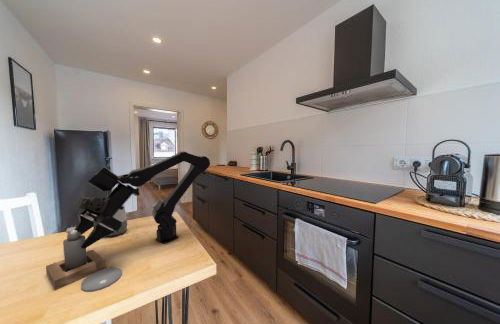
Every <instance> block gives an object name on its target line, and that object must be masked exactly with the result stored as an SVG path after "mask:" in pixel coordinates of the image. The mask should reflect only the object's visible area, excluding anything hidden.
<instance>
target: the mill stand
mask: <svg viewBox="0 0 500 324" xmlns="http://www.w3.org/2000/svg"><path fill="white" fill-rule="evenodd" d="M86 255H87V264H85V265H83V266H80V267H78V268H75V269H73V270H70V271H68V272H65V259H63V260H62V259H61V260H60V261H56V262H52V263H50V264H48V265H46V266H45V270H46V271H45V272H46V273H45V274H46V276H47V278H48V279H49V281H50V283H51V286H52V287H53V289H54V291H56V290H59V289H61V288H63V287H66V286H68V285H70V284H73V283H75V282H76V281H79V280H82V279H83V278H84V279H85V278H87V277H88V276H89V275H91V274H93V273H95V272H97V271H99V270H102V269H106V268H107V267H106V266H107V264H106V259H105V258H104V257H103V256H101V254H99V253H98V252H97V251H96V250H94V249H90V250H88V251H87V250H86Z"/></svg>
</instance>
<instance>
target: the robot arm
mask: <svg viewBox="0 0 500 324" xmlns="http://www.w3.org/2000/svg"><path fill="white" fill-rule="evenodd" d="M183 162H185V163H188V164H190V165H189V168H188V170H187V172H186V173H185V175H183V177H182V178H181V180H180V181H179V182H178V184H177V185H176V186H175V187H174V189H173V190H172V191H171V192H170V194H169V195H168V196H167V197H166V198H165V199H163V200H161V199H159V200H158V201H157V203H156V205H154V206H153V207H152V212H151V215H152V217H153V220H154V222H155V223H156V224H158V225H157V230H156V237H155V240H156V241H158V242H160V243H162V244H164V245H165V244H167V243H169V242H173V241H174V240H177V239H178V238H179V237H180V236H179V235H177V222H178V220H177V219H176V218H175V217H174V215H173V213H174V211H175V208H176V206H177V203H179V201H180V200H181V199H182V197H183V196H184V194H185V193H186V192H187V191H188V189H189V188H190V187H191V185H192V184H193V183H194V181H195V180H196V179H197V177H199V176H200V175H202V174H203V173H204V172H205V171H206V170H207V169H209V167H210V166H211V160H210V159H209V158H208V157H207V156H205V155H196V154H195V155H194V154H191V153H189V152H187V151H183V150H182V151H181V150H180V151H179V152H177V153H175V154H173V155H171V156H168V157H167V158H165V159H162V160H160V161H158V162H156V163H154V164H151V165H147V166H144V167H140V168H136V169H132V170H131V171H129V172H128V173H125V174H121V175H117V174H115V173H114V172H112V171H111V170H110V169H109V168H108V167H106V166H103V168H101V169H100V170H99V171H98V172H96V173H95V174H94V175H93V176H92V177H91V178H90V179H89V180H88V181H87V182H86V183H87V184H89V185H90V186H93V187H95V188H96V189H98V190H100V191H101V192H102V193H104V192H110V191H111V192H110V193H108V195H107V196H103V197H97V196H92V197H85V196H79V198H78V199H77V202H76V203H75V206H74V207H75V208H78V209H79V210H78V211H77V213H78V214H77V216H76V217H77V219H78V223H77V224H76V226H75V227H76V228H75V230H77V231H78V232H81V235H84V234H85V233H86V232H88V231H89V230H90V229H92V228H93V229H92V231H91V232H90V233H89V235H87V237H86V238H85V241H84V243H83V244H82V246H81V248H83V249H85V248H86V249H87V248H89V247H90V246H91V245H93V244H95V243H97V242H98V241H100V240H102V239H104V238H106V237H108V236H107V235H109V234H111V233H114V231H113V230H115V231H117V232H118V231H119V230H120V228H121V227H122V222H121V221H119V220H117V219H115V218H114V217H113V216H114V215H115V214H116V213H117V212H118V210H119V209H120V210H122V209H123V208H124V207H122V206H123V205H124V206H125V204H126V202H128V200H129V199H130V198H131V197H132V195H133V196H135V197H137V196H140V189H139V187H142V186H144V185H145V184H146V183H147V182H149V181H150V180H151V179H153V178H154V177H155V176H156V175H158V174H161V173H163V172H165V171H167V170H169V169H171V168H173V167H175V166H178V165H179V164H181V163H183ZM125 184H126V185H125ZM132 186H133V187H132ZM134 187H135V188H134Z"/></svg>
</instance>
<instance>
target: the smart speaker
mask: <svg viewBox="0 0 500 324" xmlns="http://www.w3.org/2000/svg"><path fill="white" fill-rule="evenodd" d="M122 207H124V208H123V209H122V210H120V209H119V210H118V212H117V213H116V214H115V215H114V216H113V217H114V218H115V219H117V220H119V221H121V222H122V227H121V228H120V230H119V231H118V232H117V231H115V230H113V231H114V233H111V234H109V235H107V236H106V237H115V236H119V235H122V234H123V233H124V232H125V231H127V229H128V219H127V213H126V206H125V204H124V205H123V206H122Z"/></svg>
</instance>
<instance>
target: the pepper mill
mask: <svg viewBox="0 0 500 324" xmlns="http://www.w3.org/2000/svg"><path fill="white" fill-rule="evenodd" d="M85 240H86V236H85V235H84V234H82V235H81V232H78V231H77V230H73V231H71V233H70V234H69V235H68V234H67V235H66V239H64V240H63V241H62V244H63V247H62V248H63V260H65V271H64V273H65V272H68V271H70V270H73V269H75V268H78V267H80V266H83V265H85V264H88V263H87V255H86V252H87V248H85V249H83V248H81V246H82V244H83V243H84V241H85Z"/></svg>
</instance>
